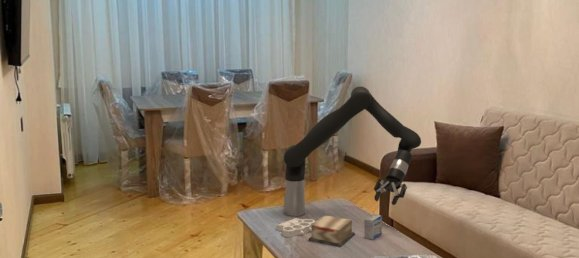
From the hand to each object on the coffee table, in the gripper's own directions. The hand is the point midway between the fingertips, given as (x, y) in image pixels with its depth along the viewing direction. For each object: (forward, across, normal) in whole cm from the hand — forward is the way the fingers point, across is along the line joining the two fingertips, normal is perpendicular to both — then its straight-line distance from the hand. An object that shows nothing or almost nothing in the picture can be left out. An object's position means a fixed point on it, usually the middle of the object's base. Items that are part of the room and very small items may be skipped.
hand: (384, 202), depth 259 cm
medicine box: (+16, 0, +3) cm, 16 cm away
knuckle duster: (+26, -31, -7) cm, 41 cm away
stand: (+24, -13, -6) cm, 28 cm away
